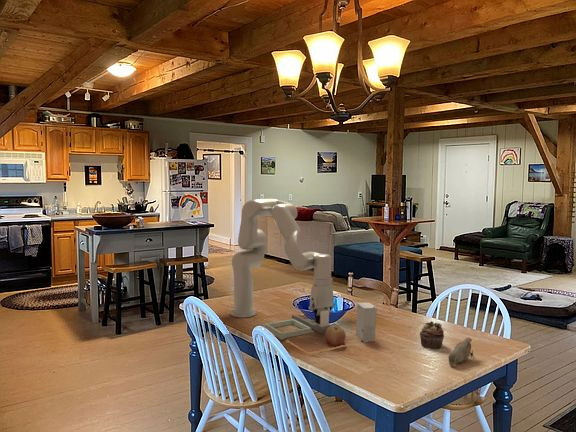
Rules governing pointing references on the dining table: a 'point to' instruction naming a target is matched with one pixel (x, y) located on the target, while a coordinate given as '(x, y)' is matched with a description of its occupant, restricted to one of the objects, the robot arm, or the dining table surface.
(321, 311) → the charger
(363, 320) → the skincare box
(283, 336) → the green square frame
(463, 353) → the decorative bird
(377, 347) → the dining table surface
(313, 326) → the power strip
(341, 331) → the fruit
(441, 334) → the cupcake
